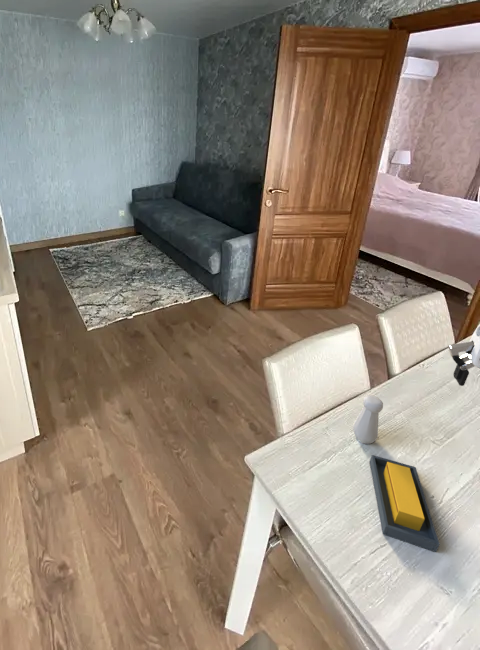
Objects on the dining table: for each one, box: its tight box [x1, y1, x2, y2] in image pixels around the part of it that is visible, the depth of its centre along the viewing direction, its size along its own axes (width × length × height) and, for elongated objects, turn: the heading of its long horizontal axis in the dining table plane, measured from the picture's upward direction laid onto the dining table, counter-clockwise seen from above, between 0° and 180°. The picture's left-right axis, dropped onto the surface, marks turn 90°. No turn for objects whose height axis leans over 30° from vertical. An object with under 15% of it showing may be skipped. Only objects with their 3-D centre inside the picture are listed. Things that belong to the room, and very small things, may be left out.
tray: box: [369, 454, 441, 553], centre depth 75 cm, size 9×16×2 cm, turn 161°
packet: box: [383, 462, 425, 531], centre depth 74 cm, size 11×4×4 cm, turn 161°
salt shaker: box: [352, 394, 384, 445], centre depth 87 cm, size 6×6×13 cm
